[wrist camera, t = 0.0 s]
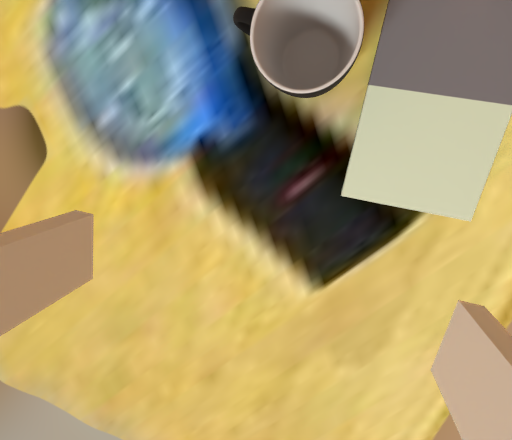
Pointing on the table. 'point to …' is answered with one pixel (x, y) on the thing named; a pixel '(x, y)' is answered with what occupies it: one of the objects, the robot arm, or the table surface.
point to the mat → (434, 106)
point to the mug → (303, 42)
